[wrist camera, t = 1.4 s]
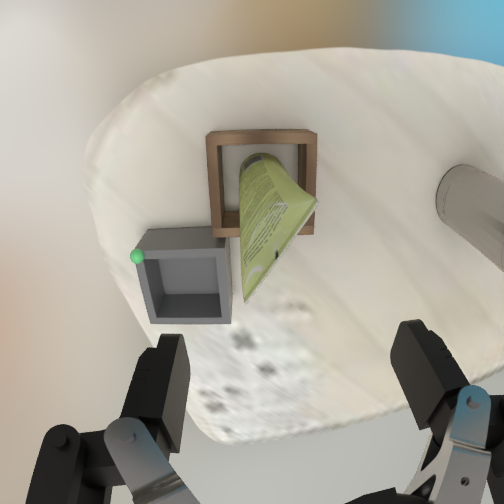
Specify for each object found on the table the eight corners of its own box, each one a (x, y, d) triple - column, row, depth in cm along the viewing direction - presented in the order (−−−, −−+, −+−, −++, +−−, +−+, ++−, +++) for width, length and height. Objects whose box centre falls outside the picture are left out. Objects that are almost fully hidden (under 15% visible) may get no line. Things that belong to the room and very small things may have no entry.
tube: (287, 195, 35) (327, 292, 18) (244, 203, 36) (243, 306, 18) (279, 148, 33) (319, 201, 15) (234, 156, 33) (222, 218, 16)
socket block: (227, 223, 37) (224, 249, 31) (232, 295, 42) (230, 329, 35) (145, 227, 37) (126, 253, 31) (158, 296, 41) (146, 328, 35)
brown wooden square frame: (307, 129, 32) (317, 133, 27) (305, 217, 37) (313, 234, 32) (211, 131, 32) (205, 136, 27) (216, 220, 37) (213, 237, 32)
